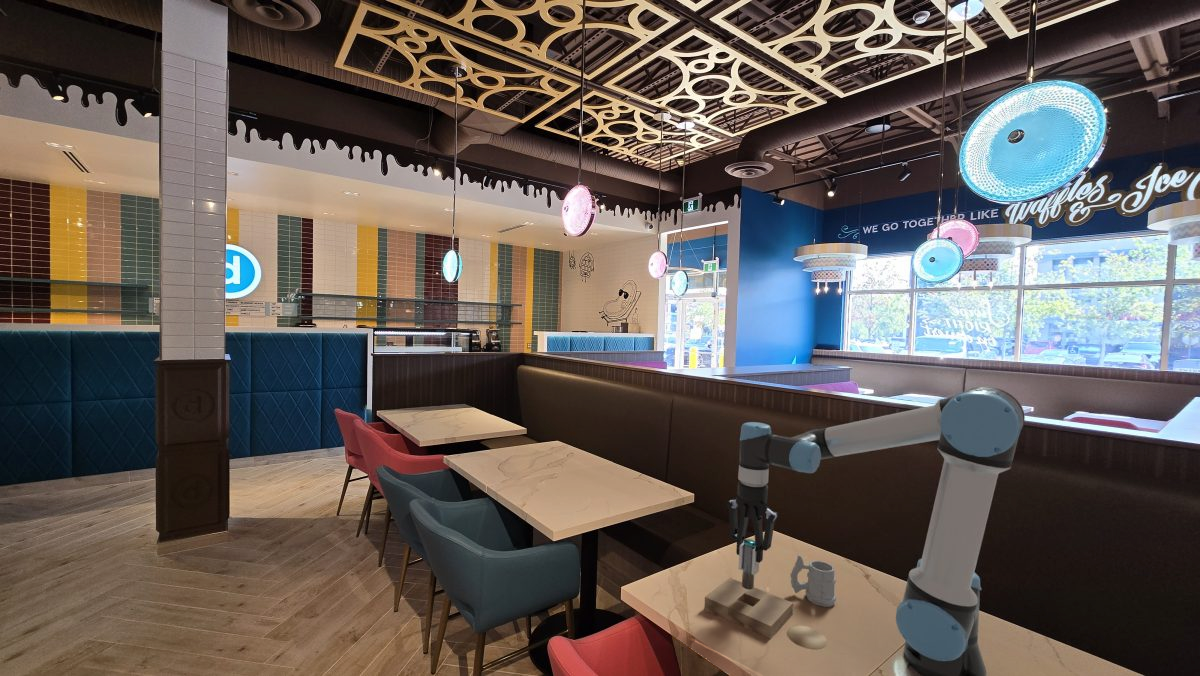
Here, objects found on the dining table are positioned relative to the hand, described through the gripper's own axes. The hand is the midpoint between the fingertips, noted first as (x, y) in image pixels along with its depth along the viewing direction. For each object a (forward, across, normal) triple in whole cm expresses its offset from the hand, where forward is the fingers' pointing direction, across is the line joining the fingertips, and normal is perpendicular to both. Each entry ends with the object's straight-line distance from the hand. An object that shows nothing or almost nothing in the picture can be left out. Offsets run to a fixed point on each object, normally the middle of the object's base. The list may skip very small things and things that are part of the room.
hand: (748, 570), depth 129 cm
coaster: (+11, -16, 0) cm, 19 cm away
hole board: (+11, 0, 0) cm, 11 cm away
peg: (+4, 0, 0) cm, 4 cm away
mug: (+11, -10, -19) cm, 25 cm away
